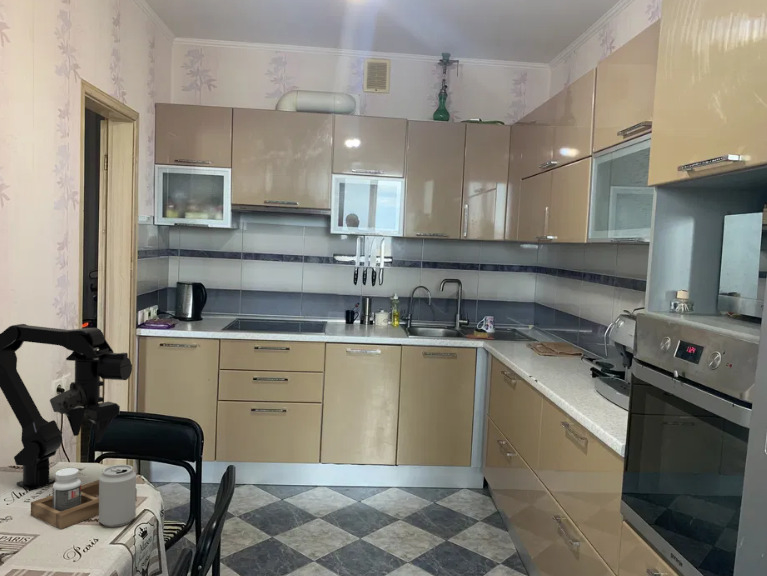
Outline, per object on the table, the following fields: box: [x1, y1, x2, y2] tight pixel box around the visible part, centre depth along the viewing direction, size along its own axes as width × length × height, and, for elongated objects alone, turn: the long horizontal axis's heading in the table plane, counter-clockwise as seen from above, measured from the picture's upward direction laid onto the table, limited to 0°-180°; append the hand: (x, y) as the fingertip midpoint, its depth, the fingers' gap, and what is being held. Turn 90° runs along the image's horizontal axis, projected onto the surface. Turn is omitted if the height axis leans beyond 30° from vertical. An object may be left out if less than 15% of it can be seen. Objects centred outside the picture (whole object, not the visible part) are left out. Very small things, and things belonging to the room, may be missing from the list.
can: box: [98, 464, 137, 528], centre depth 129 cm, size 8×8×12 cm
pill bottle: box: [52, 467, 82, 512], centre depth 131 cm, size 6×6×10 cm
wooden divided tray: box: [30, 479, 138, 530], centre depth 135 cm, size 12×18×3 cm, turn 149°
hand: (86, 438), depth 146 cm, fingers open, 9 cm apart
